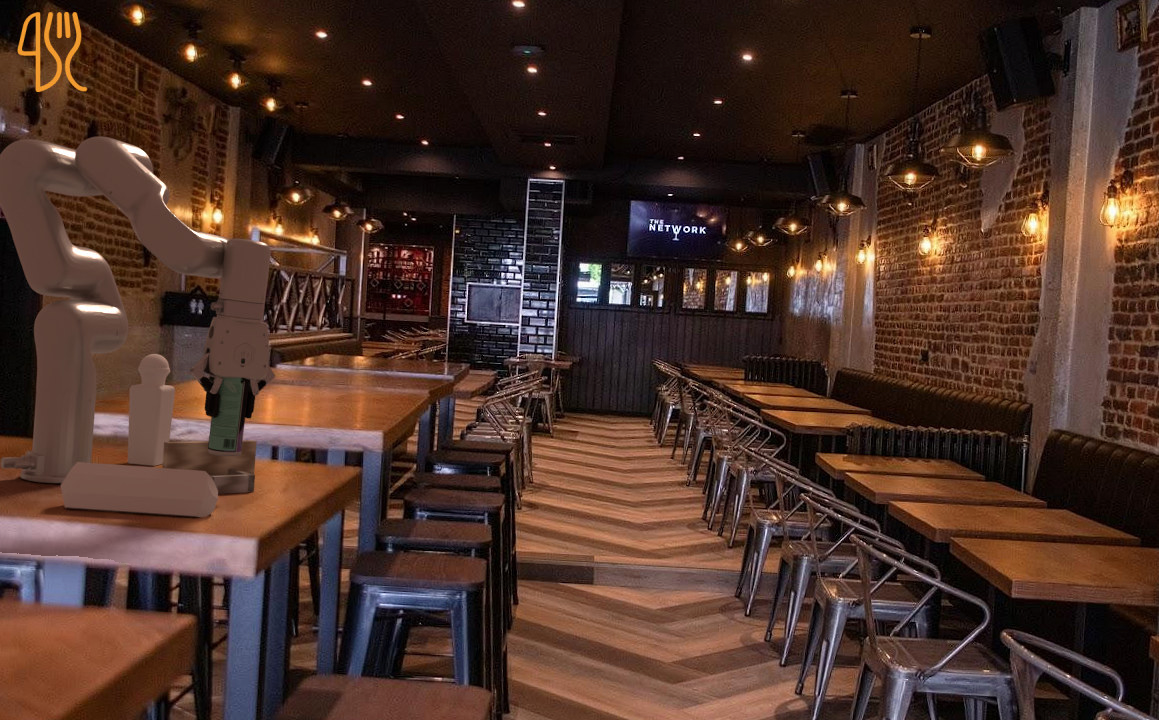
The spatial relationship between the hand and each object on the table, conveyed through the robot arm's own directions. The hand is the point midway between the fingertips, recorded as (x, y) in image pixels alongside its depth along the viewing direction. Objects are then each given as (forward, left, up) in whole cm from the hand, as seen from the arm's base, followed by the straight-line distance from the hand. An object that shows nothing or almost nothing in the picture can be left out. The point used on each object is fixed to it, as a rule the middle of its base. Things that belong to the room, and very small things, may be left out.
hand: (228, 415), depth 178 cm
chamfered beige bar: (-16, -5, -15) cm, 23 cm away
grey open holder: (+4, +9, -14) cm, 17 cm away
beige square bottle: (+4, +39, -14) cm, 42 cm away
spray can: (0, 0, -7) cm, 7 cm away
